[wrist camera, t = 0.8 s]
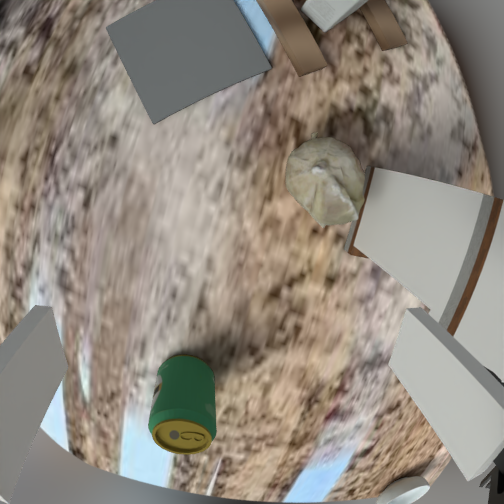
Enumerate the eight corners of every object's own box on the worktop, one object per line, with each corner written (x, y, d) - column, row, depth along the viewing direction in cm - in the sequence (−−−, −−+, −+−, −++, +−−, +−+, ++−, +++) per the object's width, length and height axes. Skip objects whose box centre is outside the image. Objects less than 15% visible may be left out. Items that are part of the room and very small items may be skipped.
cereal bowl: (367, 488, 63) (375, 507, 57) (421, 461, 63) (431, 478, 56) (374, 502, 69) (381, 518, 63) (420, 479, 69) (429, 494, 62)
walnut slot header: (244, -18, 26) (246, -26, 24) (349, -39, 25) (355, -46, 23) (298, 77, 31) (303, 73, 29) (399, 46, 30) (407, 43, 28)
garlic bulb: (334, 223, 37) (372, 250, 27) (266, 208, 35) (285, 232, 26) (354, 147, 34) (400, 151, 25) (286, 126, 32) (313, 119, 23)
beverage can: (159, 347, 40) (146, 412, 28) (218, 356, 41) (221, 422, 30) (157, 388, 42) (147, 451, 31) (210, 396, 44) (212, 459, 32)
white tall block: (344, 249, 38) (564, 479, 5) (367, 165, 35) (675, 281, 2) (412, 263, 40) (604, 426, 7) (435, 190, 37) (667, 297, 4)
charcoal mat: (106, 28, 26) (105, 27, 25) (217, -23, 25) (217, -25, 25) (154, 124, 31) (153, 124, 30) (271, 69, 30) (271, 68, 30)
